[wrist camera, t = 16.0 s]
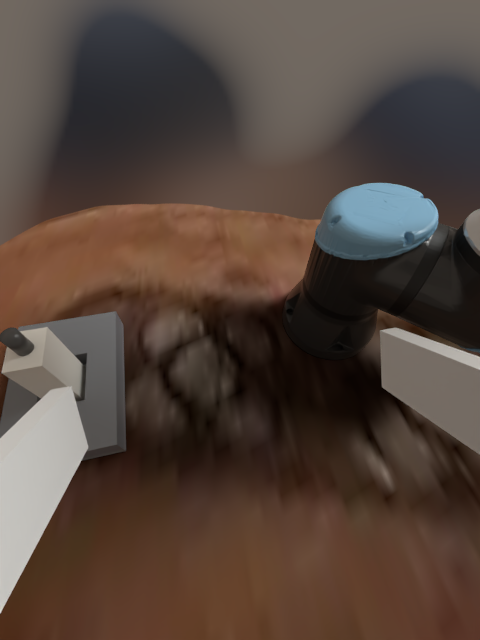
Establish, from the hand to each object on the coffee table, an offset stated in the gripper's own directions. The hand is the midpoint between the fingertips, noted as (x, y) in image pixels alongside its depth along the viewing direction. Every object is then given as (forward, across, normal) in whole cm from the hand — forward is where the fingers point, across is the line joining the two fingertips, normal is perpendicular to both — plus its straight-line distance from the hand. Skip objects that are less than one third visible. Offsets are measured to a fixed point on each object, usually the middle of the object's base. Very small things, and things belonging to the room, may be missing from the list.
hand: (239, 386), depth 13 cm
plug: (+32, -21, -10) cm, 40 cm away
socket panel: (+33, -21, -11) cm, 41 cm away
